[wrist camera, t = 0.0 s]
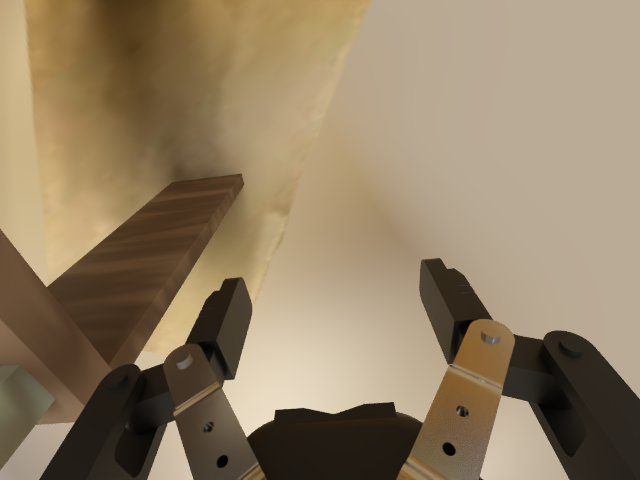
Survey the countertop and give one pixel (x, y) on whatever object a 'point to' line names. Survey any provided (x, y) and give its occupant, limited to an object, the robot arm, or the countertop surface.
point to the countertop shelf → (97, 306)
